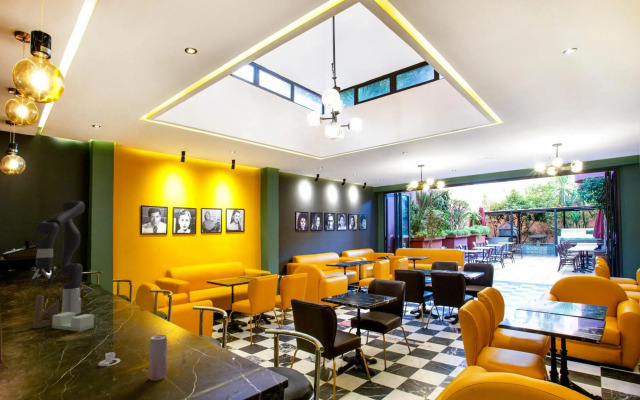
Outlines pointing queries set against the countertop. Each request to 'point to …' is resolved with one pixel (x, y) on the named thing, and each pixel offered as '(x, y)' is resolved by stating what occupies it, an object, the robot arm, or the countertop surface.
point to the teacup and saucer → (109, 359)
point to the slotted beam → (73, 321)
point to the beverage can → (157, 357)
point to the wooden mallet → (44, 313)
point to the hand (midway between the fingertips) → (42, 285)
